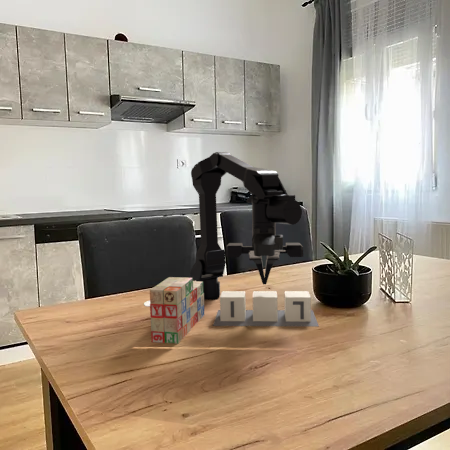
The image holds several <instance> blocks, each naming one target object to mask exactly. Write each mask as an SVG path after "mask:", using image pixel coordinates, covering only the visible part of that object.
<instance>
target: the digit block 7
mask: <svg viewBox="0 0 450 450" xmlns="http://www.w3.org/2000/svg"><path fill="white" fill-rule="evenodd" d="M283 293H284V310H285V319H286V321H300V322H311V310H312V297H311V294H310V292H309V290H294V291H293V290H285V291H284V292H283Z"/></svg>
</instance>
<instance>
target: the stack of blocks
mask: <svg viewBox="0 0 450 450" xmlns="http://www.w3.org/2000/svg"><path fill="white" fill-rule="evenodd" d="M149 300H150V306H149V313H150V314H149V315H150V328H151V329H150V330H151V331H150V336H151V343H163V344H176V345H177V344H180V342H181V341H182V340H183V339H184V338H185V337H186V336H187V335H188V334H189V333H190V332H191V331H192V329H193V328H194V327H195V325H196V324H197V323H199V322H200V320H201V319H203V317H204V316H205V300H204V293H203V282H200V281H196V280H195V281H194V279H193V278H191V277H175V276H174V277H173V276H169V277H167V278H165V279H164V280H163V281H161V282H160V283H158V284H157V285H155V286H153V287H152V288H150V289H149Z"/></svg>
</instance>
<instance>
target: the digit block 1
mask: <svg viewBox="0 0 450 450" xmlns="http://www.w3.org/2000/svg"><path fill="white" fill-rule="evenodd" d="M219 303H220V304H219V308H220V309H219V310H220V321H245V316H246V310H247V309H246V308H247V307H246V291H245V290H240V291H239V290H238V291H237V290H227V291H226V290H223V291H221V292H220V296H219Z"/></svg>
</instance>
